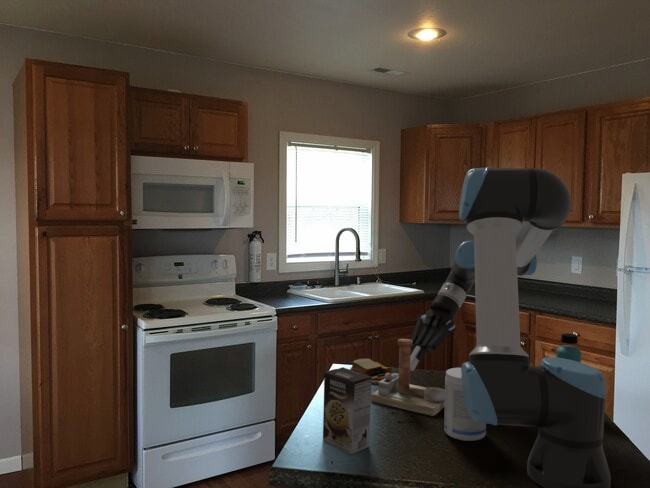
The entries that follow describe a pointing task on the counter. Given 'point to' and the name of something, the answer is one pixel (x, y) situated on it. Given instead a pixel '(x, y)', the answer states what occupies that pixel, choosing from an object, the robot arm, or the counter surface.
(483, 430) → the supplement tub
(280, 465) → the counter surface
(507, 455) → the counter surface
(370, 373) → the toy sandwich meal
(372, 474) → the counter surface
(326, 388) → the coffee box
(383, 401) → the stand
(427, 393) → the lever
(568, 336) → the beverage bottle
